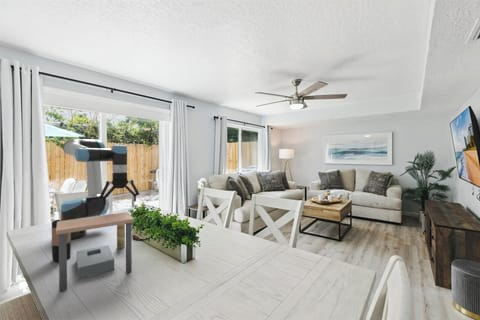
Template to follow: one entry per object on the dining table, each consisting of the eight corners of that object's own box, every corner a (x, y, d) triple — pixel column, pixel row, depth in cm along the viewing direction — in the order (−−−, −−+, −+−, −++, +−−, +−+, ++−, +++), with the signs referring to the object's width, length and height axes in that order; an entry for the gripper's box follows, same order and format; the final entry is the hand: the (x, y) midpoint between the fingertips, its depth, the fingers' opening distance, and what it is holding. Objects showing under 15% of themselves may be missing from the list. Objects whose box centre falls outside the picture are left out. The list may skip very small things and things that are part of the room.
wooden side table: (57, 276, 99) (57, 221, 99) (127, 259, 116) (127, 211, 116) (56, 293, 88) (55, 230, 87) (133, 271, 105) (133, 218, 104)
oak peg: (116, 247, 131) (116, 223, 130) (124, 245, 133) (124, 222, 133) (117, 249, 128) (117, 225, 127) (125, 248, 130) (125, 224, 130)
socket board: (76, 261, 114) (76, 251, 113) (108, 254, 122) (108, 245, 122) (78, 279, 98) (77, 268, 98) (114, 269, 106) (114, 259, 106)
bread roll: (130, 236, 148) (131, 228, 148) (148, 235, 155) (149, 228, 155) (134, 242, 139) (135, 234, 139) (152, 241, 146) (154, 233, 146)
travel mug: (60, 263, 111) (59, 223, 110) (47, 262, 112) (47, 222, 112) (74, 256, 118) (74, 219, 118) (62, 255, 120) (62, 218, 119)
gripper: (94, 173, 118) (94, 213, 119) (144, 171, 133) (144, 207, 134) (93, 172, 124) (93, 210, 125) (141, 170, 139) (141, 204, 140)
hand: (120, 208), depth 129 cm, fingers open, 13 cm apart
